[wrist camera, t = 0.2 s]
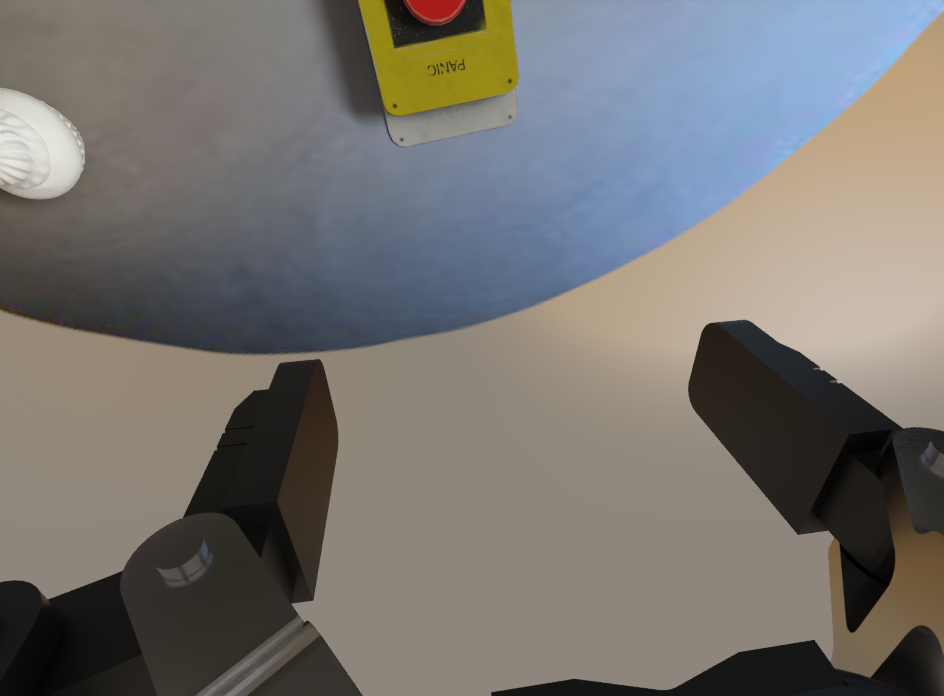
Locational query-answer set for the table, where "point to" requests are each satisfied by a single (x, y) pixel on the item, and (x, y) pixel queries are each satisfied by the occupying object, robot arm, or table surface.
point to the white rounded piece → (37, 148)
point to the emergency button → (442, 66)
